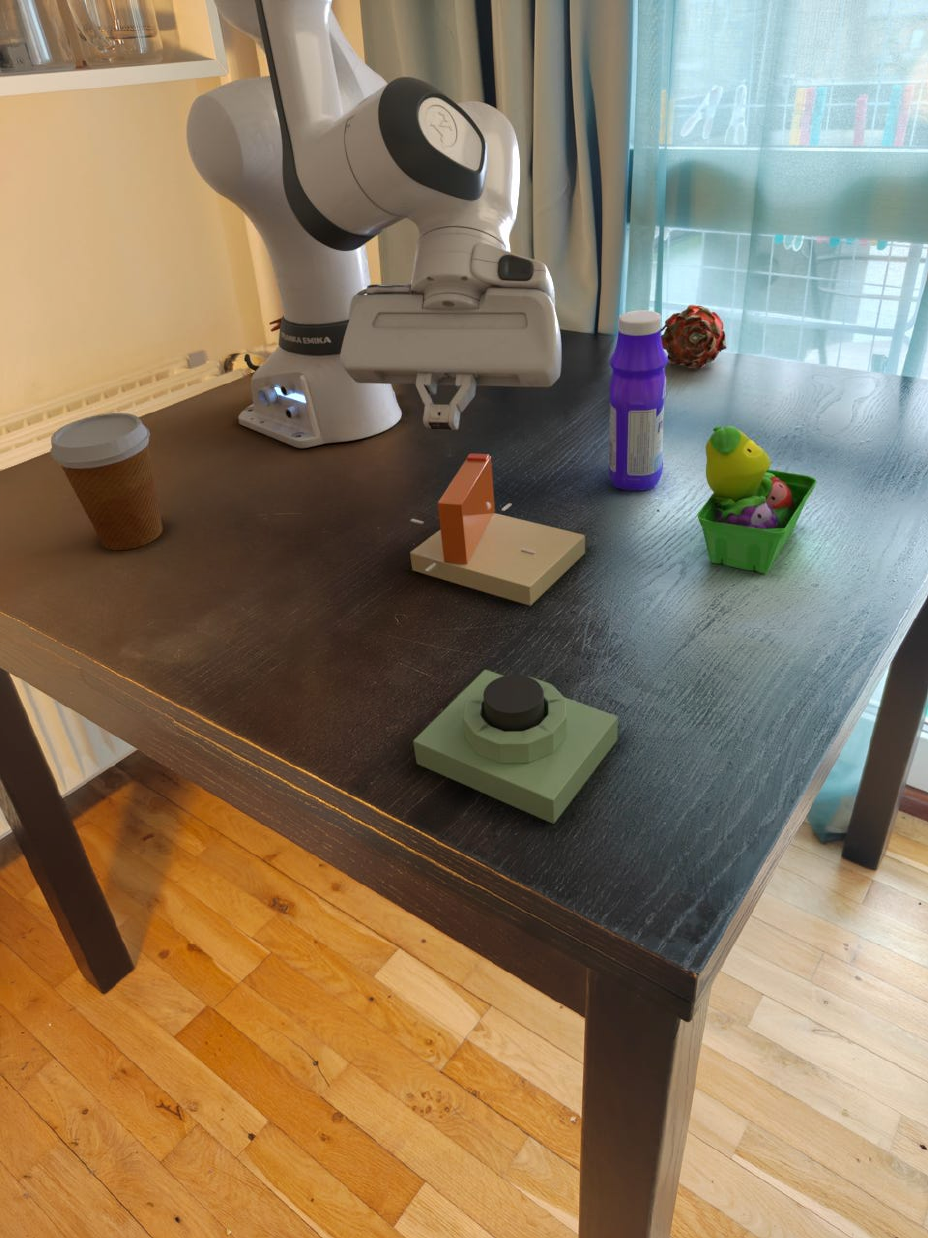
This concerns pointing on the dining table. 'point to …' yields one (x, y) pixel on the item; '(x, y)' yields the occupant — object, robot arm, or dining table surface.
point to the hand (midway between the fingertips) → (440, 427)
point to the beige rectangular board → (506, 558)
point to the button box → (519, 750)
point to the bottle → (637, 402)
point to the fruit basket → (748, 502)
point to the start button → (514, 703)
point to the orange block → (466, 508)
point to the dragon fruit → (693, 337)
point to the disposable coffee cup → (111, 476)
